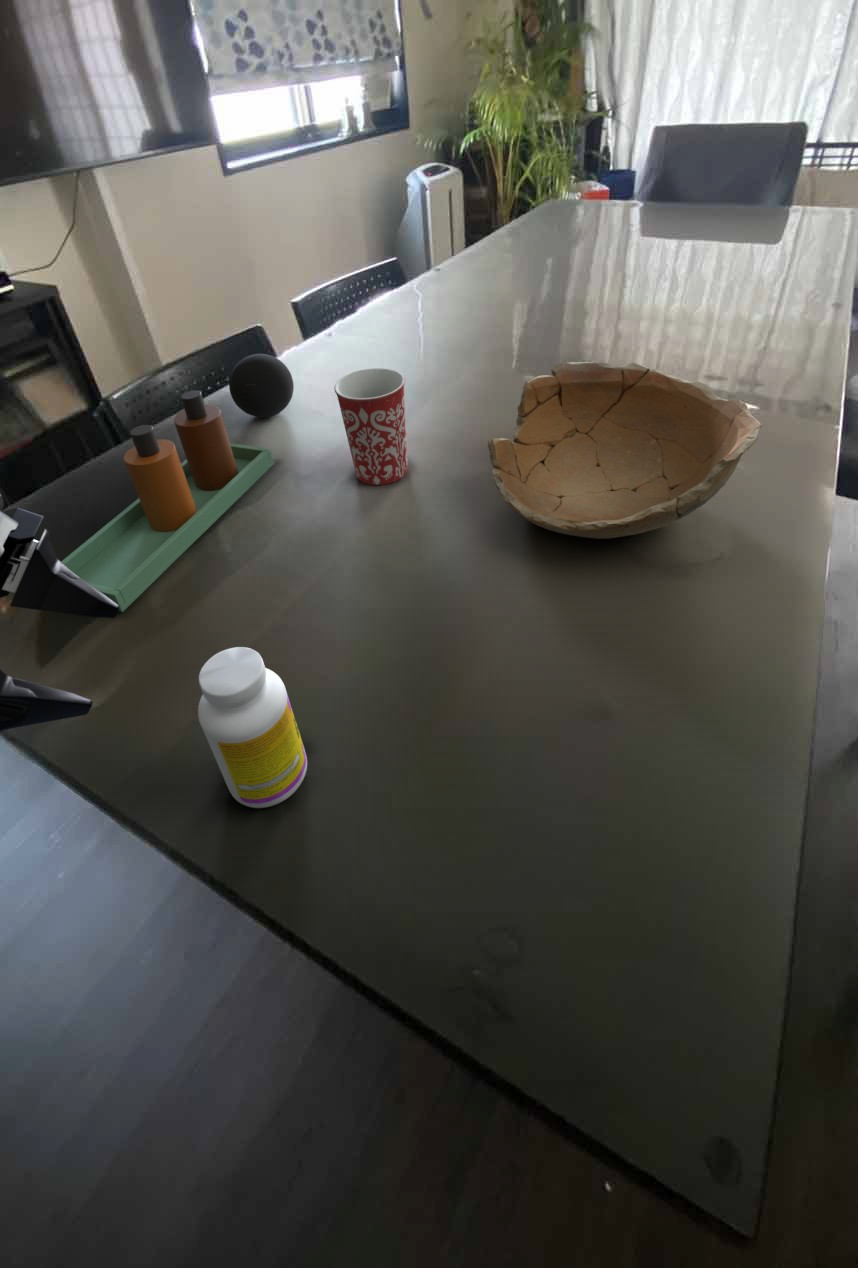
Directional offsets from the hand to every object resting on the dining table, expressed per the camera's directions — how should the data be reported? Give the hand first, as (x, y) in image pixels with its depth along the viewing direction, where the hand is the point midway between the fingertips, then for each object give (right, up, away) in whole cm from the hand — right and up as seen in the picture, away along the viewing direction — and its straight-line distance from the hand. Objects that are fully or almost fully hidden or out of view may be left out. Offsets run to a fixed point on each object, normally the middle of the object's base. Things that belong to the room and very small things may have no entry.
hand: (105, 656), depth 49 cm
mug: (+17, +16, +47) cm, 53 cm away
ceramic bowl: (+46, +12, +37) cm, 60 cm away
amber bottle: (-10, +9, +40) cm, 42 cm away
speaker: (-3, +26, +63) cm, 68 cm away
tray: (-10, +9, +40) cm, 42 cm away
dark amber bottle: (-7, +15, +47) cm, 49 cm away
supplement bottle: (+10, -12, +9) cm, 18 cm away
